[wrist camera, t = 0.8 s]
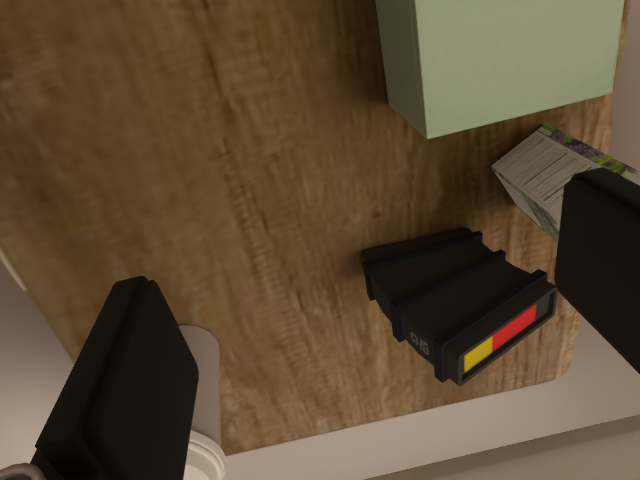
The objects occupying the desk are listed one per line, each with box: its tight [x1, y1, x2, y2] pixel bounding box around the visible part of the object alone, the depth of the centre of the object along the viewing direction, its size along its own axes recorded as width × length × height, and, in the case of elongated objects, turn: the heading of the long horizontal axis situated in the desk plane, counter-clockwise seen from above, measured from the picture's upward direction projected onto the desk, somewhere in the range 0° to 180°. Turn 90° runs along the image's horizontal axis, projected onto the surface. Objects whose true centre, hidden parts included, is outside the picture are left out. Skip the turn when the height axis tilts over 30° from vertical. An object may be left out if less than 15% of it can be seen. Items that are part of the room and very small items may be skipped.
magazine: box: [361, 228, 558, 386], centre depth 37 cm, size 4×13×15 cm, turn 100°
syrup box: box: [491, 124, 640, 243], centre depth 33 cm, size 6×6×14 cm
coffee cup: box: [179, 325, 227, 480], centre depth 39 cm, size 10×10×15 cm
